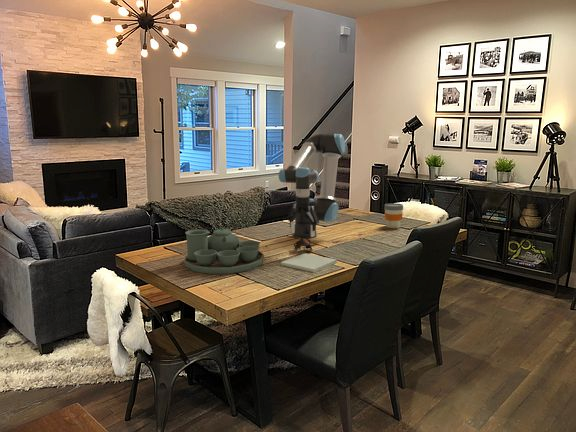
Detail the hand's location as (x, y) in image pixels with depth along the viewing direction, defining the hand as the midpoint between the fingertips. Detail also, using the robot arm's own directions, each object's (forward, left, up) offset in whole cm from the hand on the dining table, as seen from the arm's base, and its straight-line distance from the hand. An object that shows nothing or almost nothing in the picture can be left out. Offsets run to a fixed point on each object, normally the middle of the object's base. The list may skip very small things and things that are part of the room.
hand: (302, 234), depth 253 cm
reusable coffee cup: (+13, +86, -9) cm, 88 cm away
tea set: (-19, -41, -10) cm, 46 cm away
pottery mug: (+1, 0, -9) cm, 9 cm away
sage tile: (+17, -18, -9) cm, 26 cm away
